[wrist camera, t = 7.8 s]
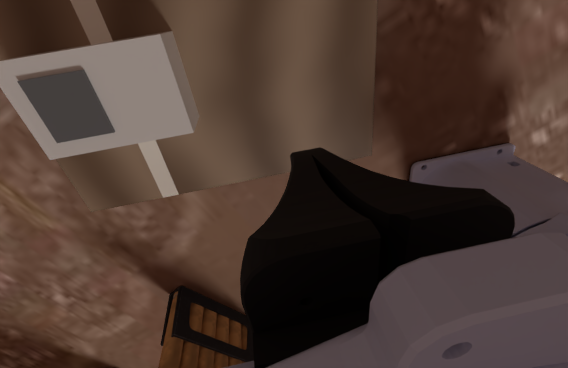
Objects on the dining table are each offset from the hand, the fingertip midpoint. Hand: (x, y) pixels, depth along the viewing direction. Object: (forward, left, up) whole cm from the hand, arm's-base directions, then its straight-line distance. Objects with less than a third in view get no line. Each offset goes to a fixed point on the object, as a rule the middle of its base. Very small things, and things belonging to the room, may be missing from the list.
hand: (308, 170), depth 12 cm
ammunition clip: (+10, +21, -10) cm, 25 cm away
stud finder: (+9, -3, -8) cm, 13 cm away
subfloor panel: (+3, -3, -9) cm, 10 cm away
